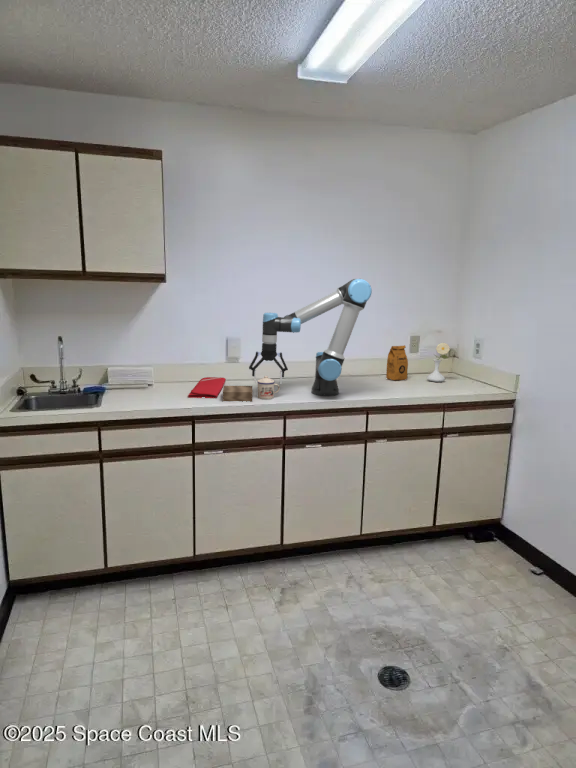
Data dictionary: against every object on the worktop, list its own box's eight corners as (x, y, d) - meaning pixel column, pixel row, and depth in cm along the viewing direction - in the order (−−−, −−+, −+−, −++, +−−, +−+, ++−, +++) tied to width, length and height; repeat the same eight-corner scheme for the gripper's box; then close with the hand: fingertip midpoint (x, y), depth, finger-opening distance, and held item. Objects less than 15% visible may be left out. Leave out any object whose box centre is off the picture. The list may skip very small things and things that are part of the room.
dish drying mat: (186, 398, 265) (186, 391, 265) (200, 382, 306) (200, 376, 305) (217, 399, 266) (217, 392, 265) (226, 383, 306) (226, 377, 305)
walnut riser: (252, 395, 275) (252, 385, 274) (252, 401, 260) (252, 392, 259) (224, 394, 274) (224, 385, 273) (222, 401, 259) (222, 391, 258)
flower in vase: (423, 381, 325) (426, 342, 320) (430, 378, 334) (433, 340, 329) (443, 384, 317) (447, 344, 312) (450, 381, 326) (453, 342, 321)
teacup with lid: (258, 400, 264) (259, 377, 262) (255, 396, 273) (255, 374, 271) (281, 399, 267) (282, 377, 265) (277, 395, 276) (277, 374, 274)
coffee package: (409, 380, 325) (411, 346, 321) (393, 381, 320) (395, 346, 316) (399, 377, 334) (402, 344, 330) (383, 378, 329) (386, 344, 325)
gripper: (292, 342, 269) (290, 382, 273) (245, 341, 267) (244, 380, 271) (294, 344, 262) (292, 385, 266) (245, 342, 260) (244, 383, 264)
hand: (267, 383), depth 269 cm, fingers open, 13 cm apart
